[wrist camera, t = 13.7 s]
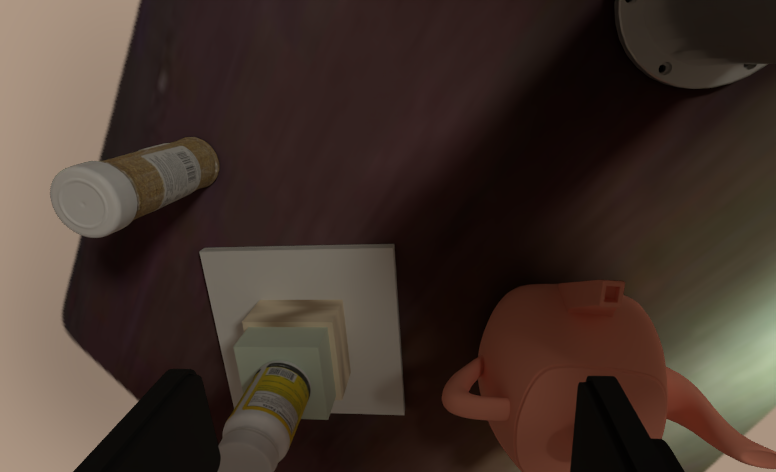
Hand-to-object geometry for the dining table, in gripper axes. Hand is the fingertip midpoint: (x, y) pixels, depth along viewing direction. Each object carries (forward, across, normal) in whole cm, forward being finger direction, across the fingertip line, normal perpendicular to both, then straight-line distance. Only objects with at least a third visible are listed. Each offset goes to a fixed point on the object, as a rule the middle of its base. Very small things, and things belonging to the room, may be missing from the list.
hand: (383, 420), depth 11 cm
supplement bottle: (+20, +12, +15) cm, 28 cm away
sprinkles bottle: (+28, +20, -2) cm, 35 cm away
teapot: (+29, -12, +15) cm, 34 cm away
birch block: (+27, +12, +15) cm, 33 cm away
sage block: (+23, +12, +15) cm, 30 cm away
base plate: (+28, +12, +15) cm, 34 cm away
